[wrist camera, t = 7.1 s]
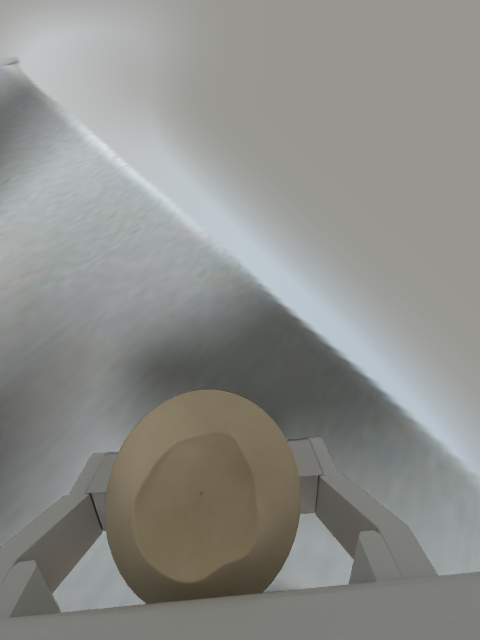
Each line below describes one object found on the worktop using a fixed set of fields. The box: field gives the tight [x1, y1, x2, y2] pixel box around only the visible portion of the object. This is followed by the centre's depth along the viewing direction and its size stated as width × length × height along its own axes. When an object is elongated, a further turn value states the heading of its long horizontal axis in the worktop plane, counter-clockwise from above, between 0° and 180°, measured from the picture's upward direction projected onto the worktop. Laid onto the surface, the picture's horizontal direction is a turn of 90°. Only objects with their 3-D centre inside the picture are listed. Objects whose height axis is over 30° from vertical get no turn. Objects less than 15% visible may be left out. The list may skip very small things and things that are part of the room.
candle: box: [105, 390, 301, 604], centre depth 11 cm, size 6×6×10 cm
